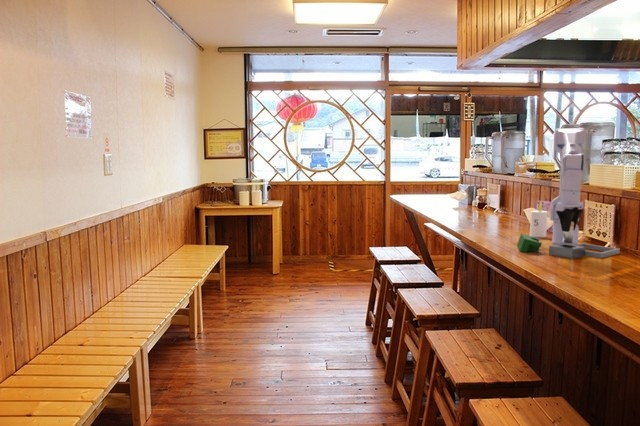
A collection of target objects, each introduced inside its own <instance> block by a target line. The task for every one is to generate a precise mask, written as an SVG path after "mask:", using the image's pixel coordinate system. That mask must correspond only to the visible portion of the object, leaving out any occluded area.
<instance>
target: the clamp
mask: <svg viewBox="0 0 640 426" xmlns="http://www.w3.org/2000/svg"><path fill="white" fill-rule="evenodd" d="M541 246H542V241H540V238H539V237H532V236H530V234H529V235H528V234H526V233H521V234H520V235H519V239H518V242H517V246H516V247H517V249H518V251H519V253H528V252H539V250H540V248H541Z"/></svg>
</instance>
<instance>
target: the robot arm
mask: <svg viewBox="0 0 640 426" xmlns="http://www.w3.org/2000/svg"><path fill="white" fill-rule="evenodd" d="M585 138H586V129H585V128H584V127H579V128H578V127H575V128H573V127H571V128H570V127H569V128H567V127H566V128H563V127H562V128H559V127H557V128H556V129H555V130H554V147H553V148H554V151H555V152H557V153H559V157H560V174H559V176H560V177H559V190H558V191H559V195H558V196H557V197H555V198H553V199H552V200H551V202H550V209H549V220H551V221H553V223H552V224H553V225H552V226H553V227H552V238H551V239H552V240H551V243H552V244H554V245H556V244H561V243H564V242H563V231H566V232H569V231H570V227H571V221H573V222H574V229H573V243H565V244H571V245H577V244H579V234H580V233H579V230H580V229H579V225H578V224H577V223H578V222H579V220H580V217H581V215H582V214H583V212H584V209H583V208H584V202H583V201H581V191H582V190H581V189H582V177H583V176H582V175H583V171H584V170H585V153H582V149H583V146H584V143H585Z"/></svg>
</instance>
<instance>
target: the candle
mask: <svg viewBox="0 0 640 426" xmlns="http://www.w3.org/2000/svg"><path fill="white" fill-rule="evenodd" d="M542 208H543V202H542V200H540V201H539V203H538V210H531V211H530V225H529V226H530V227H529V236H532V237H536V238H546V237H547V227H548V213H549V212H548V211H546V210H543V209H542Z"/></svg>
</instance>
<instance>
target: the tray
mask: <svg viewBox="0 0 640 426" xmlns="http://www.w3.org/2000/svg"><path fill="white" fill-rule="evenodd" d="M577 246H583V247H585V256H586V257H591V258H598V259H603V258H606V257H610V256H615V255H619V254H620V248H616V247H610V246H602V245H596V244H590V243H583V242H582V243H578V244H577ZM587 249H588V250H587ZM591 250H594V251H591ZM596 251H597V252H596ZM598 251H600V252H598Z"/></svg>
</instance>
